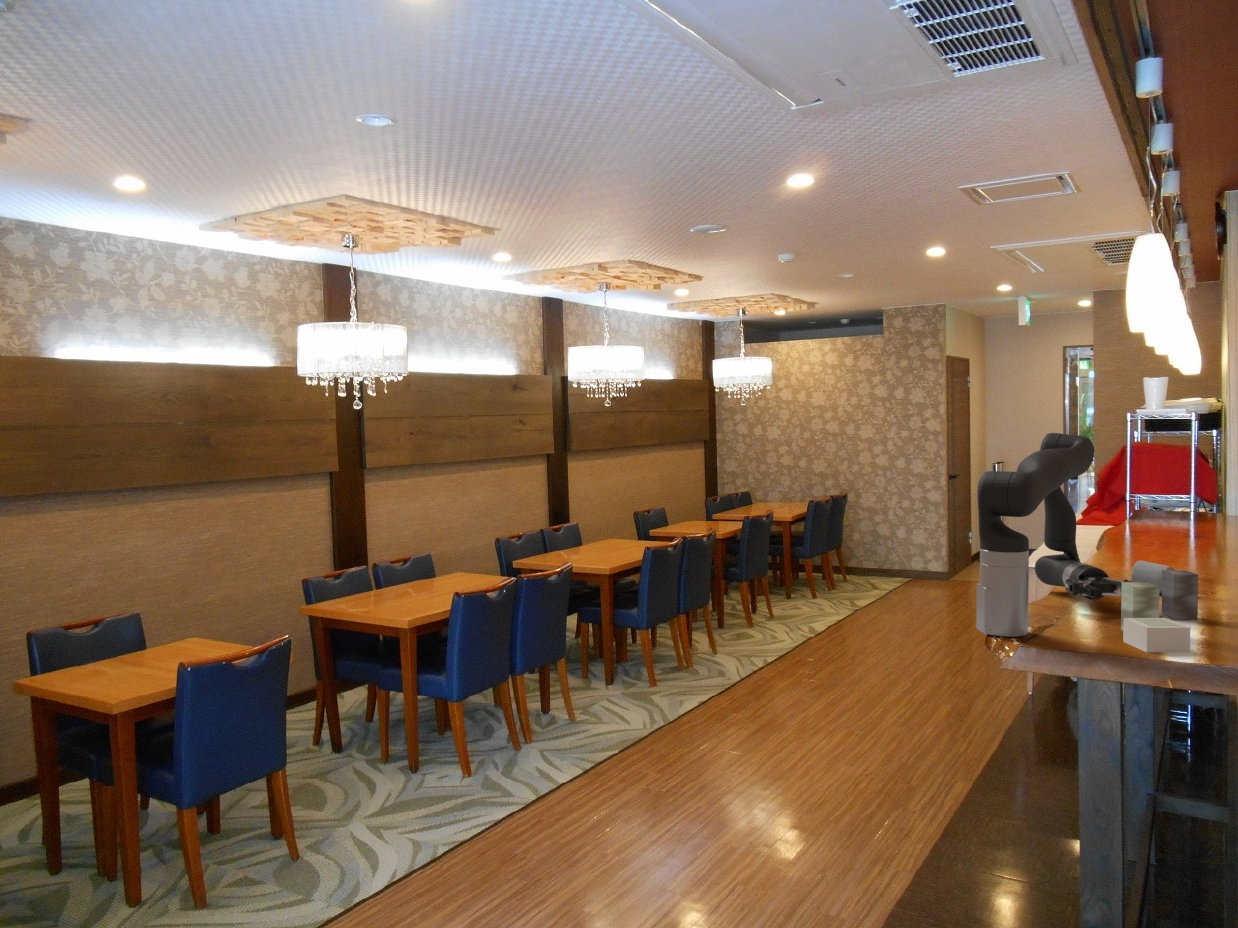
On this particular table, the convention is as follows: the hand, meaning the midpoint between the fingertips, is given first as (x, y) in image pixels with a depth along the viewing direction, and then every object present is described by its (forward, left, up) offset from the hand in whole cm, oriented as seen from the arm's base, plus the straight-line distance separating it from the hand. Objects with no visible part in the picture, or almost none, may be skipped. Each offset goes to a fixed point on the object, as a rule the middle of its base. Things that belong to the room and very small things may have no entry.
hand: (1116, 593), depth 190 cm
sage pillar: (0, -10, -6) cm, 12 cm away
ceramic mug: (+24, +34, -6) cm, 42 cm away
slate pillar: (+15, +5, -6) cm, 17 cm away
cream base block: (-2, -21, -6) cm, 22 cm away
